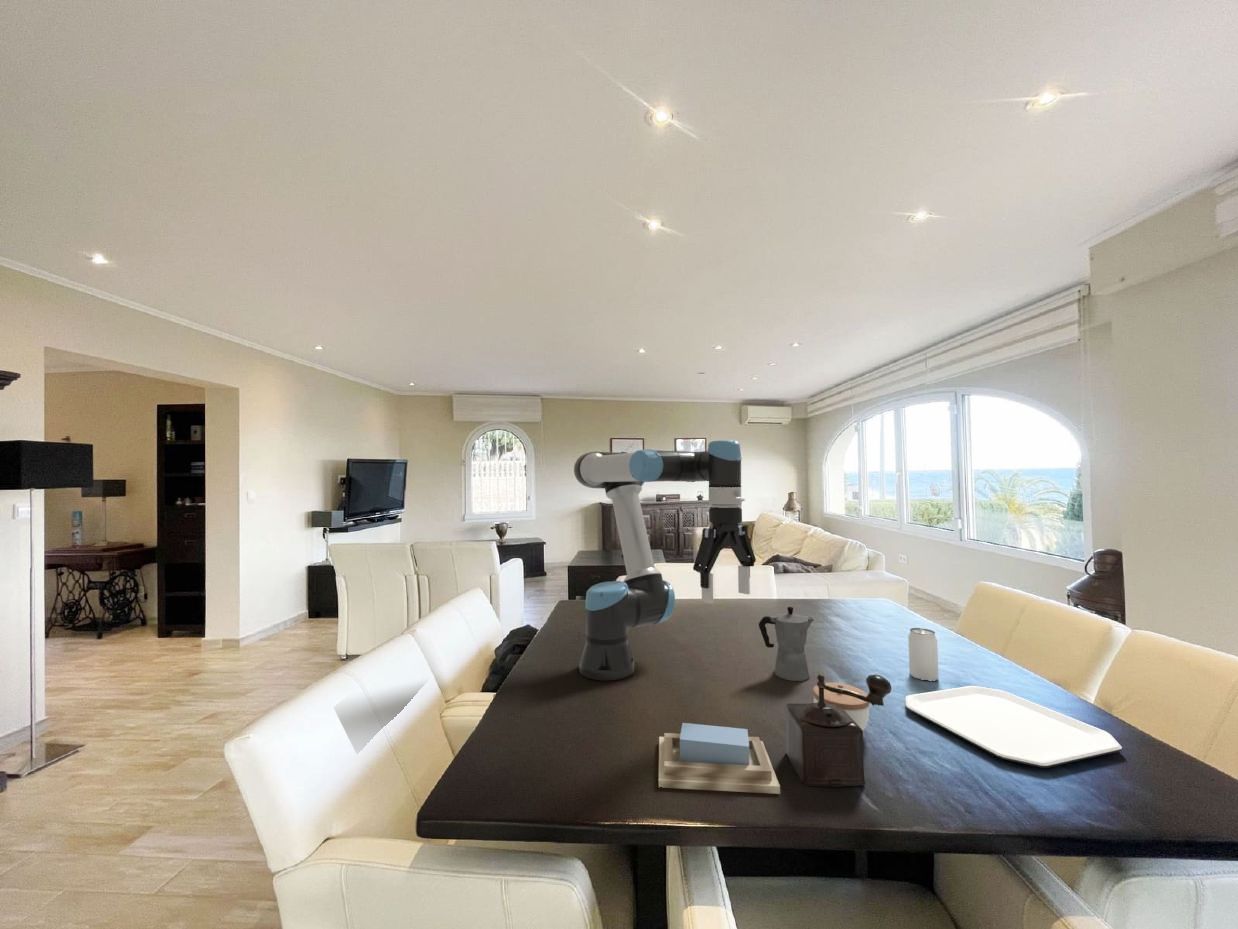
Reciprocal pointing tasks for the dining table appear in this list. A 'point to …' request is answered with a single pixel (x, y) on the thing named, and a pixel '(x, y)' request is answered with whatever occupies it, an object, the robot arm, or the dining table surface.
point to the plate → (1012, 726)
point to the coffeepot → (789, 644)
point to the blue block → (714, 744)
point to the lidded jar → (846, 702)
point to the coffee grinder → (829, 737)
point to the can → (923, 654)
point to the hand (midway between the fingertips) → (726, 597)
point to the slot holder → (716, 770)
